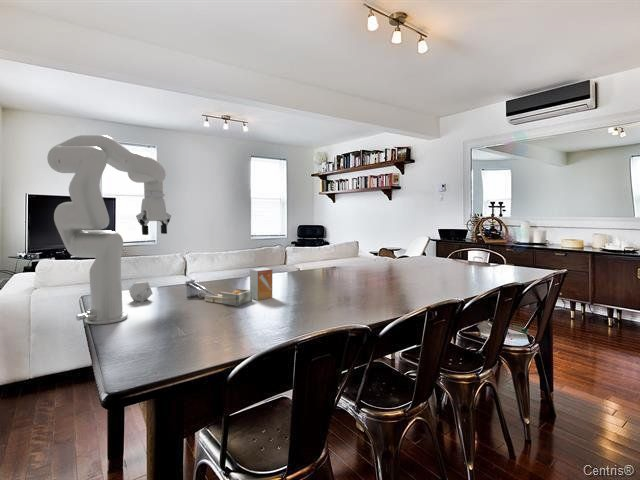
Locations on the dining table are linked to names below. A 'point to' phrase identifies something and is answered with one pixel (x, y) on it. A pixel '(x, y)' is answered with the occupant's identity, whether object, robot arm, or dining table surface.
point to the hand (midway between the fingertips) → (154, 234)
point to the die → (140, 291)
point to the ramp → (197, 289)
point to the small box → (261, 283)
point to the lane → (231, 297)
